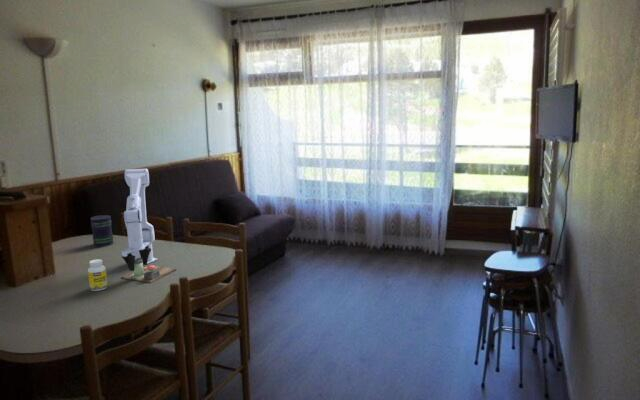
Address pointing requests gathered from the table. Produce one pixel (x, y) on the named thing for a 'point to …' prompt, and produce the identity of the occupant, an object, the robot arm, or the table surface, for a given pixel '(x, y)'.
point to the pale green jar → (138, 267)
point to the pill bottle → (97, 275)
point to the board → (161, 271)
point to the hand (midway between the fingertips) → (138, 267)
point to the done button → (151, 267)
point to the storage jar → (102, 230)
